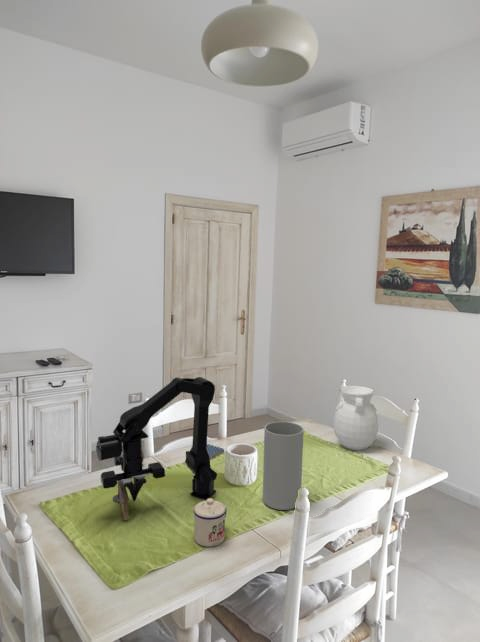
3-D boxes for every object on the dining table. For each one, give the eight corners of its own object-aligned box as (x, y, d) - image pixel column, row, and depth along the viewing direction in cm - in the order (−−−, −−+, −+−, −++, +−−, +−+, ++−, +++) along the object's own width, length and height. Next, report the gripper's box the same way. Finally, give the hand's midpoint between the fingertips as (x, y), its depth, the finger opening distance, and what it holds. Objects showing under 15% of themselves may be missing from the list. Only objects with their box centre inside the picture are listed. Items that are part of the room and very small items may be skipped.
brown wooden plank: (129, 519, 145) (129, 498, 144) (122, 520, 144) (122, 499, 143) (123, 497, 157) (123, 478, 156) (117, 498, 157) (116, 479, 156)
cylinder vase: (275, 488, 167) (277, 419, 164) (307, 499, 160) (310, 427, 157) (255, 503, 157) (257, 429, 154) (288, 515, 150) (291, 438, 147)
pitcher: (331, 436, 217) (334, 382, 214) (373, 439, 215) (376, 385, 211) (333, 453, 199) (336, 394, 196) (379, 456, 196) (383, 397, 193)
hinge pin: (131, 497, 159) (131, 477, 158) (121, 504, 155) (121, 483, 154) (119, 493, 162) (119, 474, 161) (109, 500, 157) (109, 480, 156)
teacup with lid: (211, 551, 131) (212, 511, 129) (186, 539, 136) (186, 501, 135) (237, 532, 141) (238, 494, 139) (213, 521, 146) (214, 485, 144)
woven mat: (189, 455, 195) (189, 450, 195) (205, 447, 204) (205, 442, 204) (209, 462, 189) (209, 457, 189) (225, 453, 198) (225, 448, 198)
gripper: (155, 438, 159) (156, 483, 161) (96, 448, 151) (98, 495, 154) (164, 451, 149) (165, 498, 151) (102, 462, 141) (104, 512, 144)
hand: (133, 500), depth 150 cm, fingers closed
